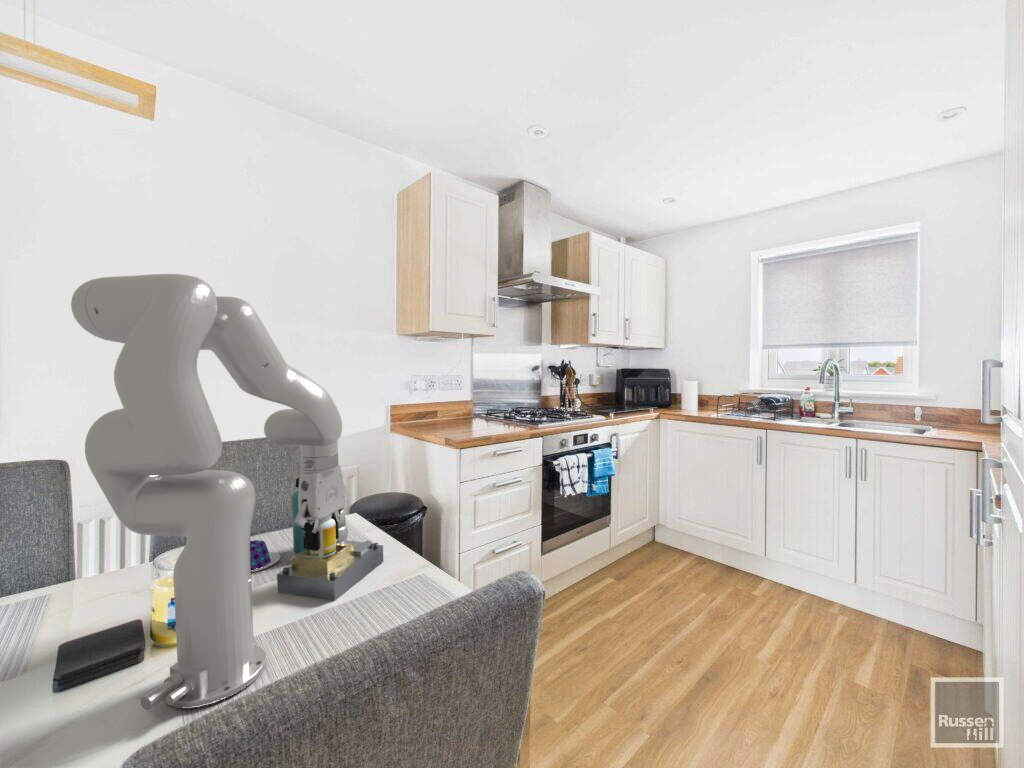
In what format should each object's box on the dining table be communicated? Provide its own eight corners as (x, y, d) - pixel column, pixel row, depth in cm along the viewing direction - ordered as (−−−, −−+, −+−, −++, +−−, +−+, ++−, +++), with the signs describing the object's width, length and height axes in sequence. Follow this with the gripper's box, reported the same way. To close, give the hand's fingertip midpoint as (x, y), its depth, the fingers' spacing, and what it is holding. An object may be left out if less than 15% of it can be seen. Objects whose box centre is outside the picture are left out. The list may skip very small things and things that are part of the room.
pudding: (247, 554, 111) (246, 534, 111) (290, 555, 110) (289, 535, 110) (209, 576, 99) (208, 554, 99) (258, 577, 98) (257, 555, 98)
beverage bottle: (301, 563, 104) (298, 481, 103) (288, 557, 108) (285, 478, 107) (326, 554, 109) (324, 476, 108) (313, 548, 113) (310, 472, 112)
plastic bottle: (353, 541, 117) (350, 468, 116) (331, 550, 111) (328, 474, 111) (338, 537, 120) (336, 466, 120) (316, 545, 115) (313, 471, 114)
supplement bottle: (307, 561, 92) (305, 516, 92) (312, 551, 97) (311, 509, 97) (334, 557, 93) (332, 514, 93) (338, 548, 98) (336, 506, 98)
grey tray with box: (334, 600, 87) (333, 568, 86) (277, 592, 90) (276, 562, 90) (390, 556, 107) (389, 530, 107) (341, 551, 111) (340, 526, 110)
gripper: (306, 472, 85) (309, 562, 86) (358, 455, 102) (360, 531, 102) (275, 471, 87) (278, 559, 88) (331, 454, 104) (333, 528, 104)
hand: (322, 543), depth 95 cm, fingers closed on supplement bottle, 5 cm apart
